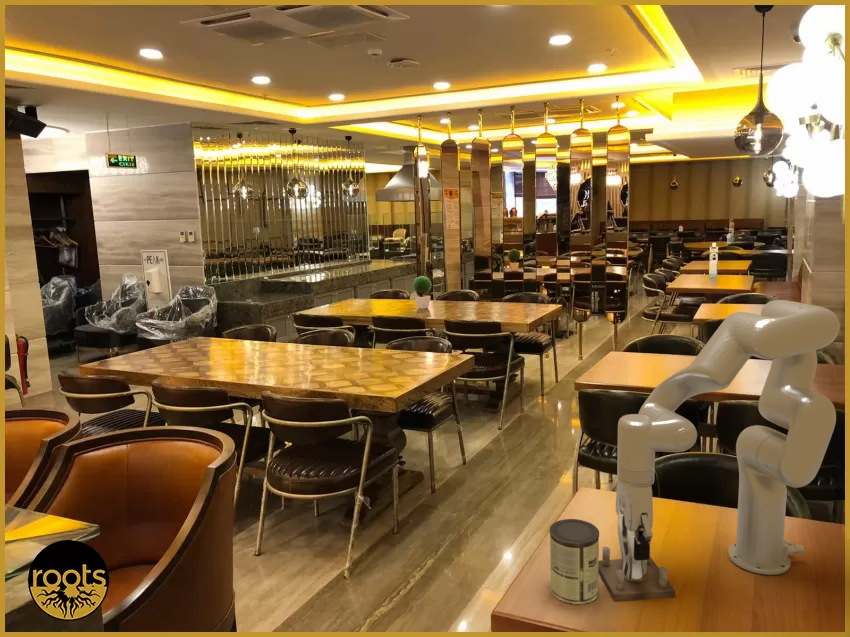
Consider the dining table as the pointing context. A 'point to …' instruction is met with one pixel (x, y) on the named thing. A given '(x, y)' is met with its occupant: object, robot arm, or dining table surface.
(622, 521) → the beer glass
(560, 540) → the coffee can
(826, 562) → the dining table surface
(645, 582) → the peg stand
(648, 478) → the robot arm
